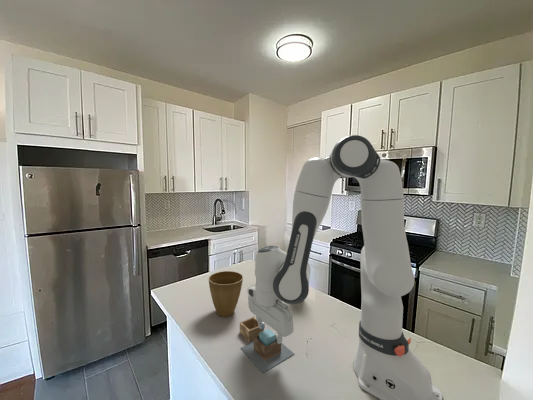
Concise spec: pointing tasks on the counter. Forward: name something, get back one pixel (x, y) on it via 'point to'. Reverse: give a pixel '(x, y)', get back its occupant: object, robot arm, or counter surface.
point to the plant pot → (225, 291)
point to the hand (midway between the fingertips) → (269, 334)
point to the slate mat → (269, 363)
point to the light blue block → (267, 337)
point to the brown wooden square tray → (266, 349)
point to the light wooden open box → (250, 328)
